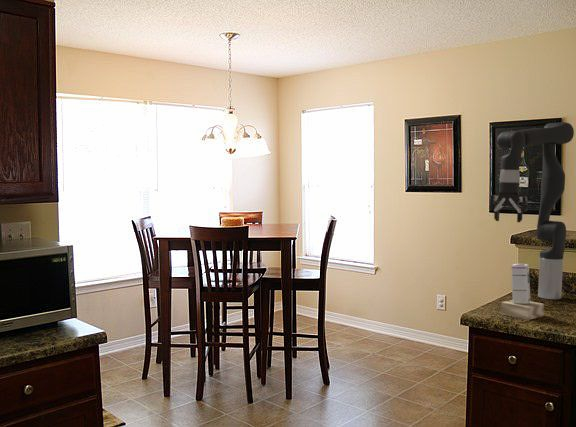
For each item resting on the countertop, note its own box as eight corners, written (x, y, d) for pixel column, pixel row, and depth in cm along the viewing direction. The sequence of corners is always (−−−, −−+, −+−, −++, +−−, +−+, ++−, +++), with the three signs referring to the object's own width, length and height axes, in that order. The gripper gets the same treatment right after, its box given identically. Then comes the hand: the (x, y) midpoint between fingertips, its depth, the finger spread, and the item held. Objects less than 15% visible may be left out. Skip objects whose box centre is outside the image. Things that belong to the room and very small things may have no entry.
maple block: (516, 311, 229) (517, 298, 228) (543, 316, 220) (544, 303, 220) (500, 315, 222) (501, 302, 222) (527, 321, 213) (528, 307, 213)
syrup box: (528, 304, 217) (527, 265, 217) (512, 303, 220) (510, 265, 219) (530, 301, 222) (529, 263, 222) (514, 300, 225) (513, 263, 224)
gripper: (530, 181, 232) (529, 222, 233) (494, 180, 241) (493, 220, 242) (525, 181, 226) (523, 223, 227) (488, 181, 235) (486, 221, 236)
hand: (507, 221), depth 234 cm, fingers open, 8 cm apart
